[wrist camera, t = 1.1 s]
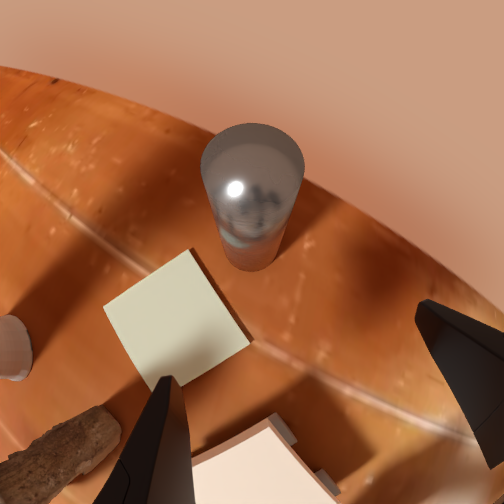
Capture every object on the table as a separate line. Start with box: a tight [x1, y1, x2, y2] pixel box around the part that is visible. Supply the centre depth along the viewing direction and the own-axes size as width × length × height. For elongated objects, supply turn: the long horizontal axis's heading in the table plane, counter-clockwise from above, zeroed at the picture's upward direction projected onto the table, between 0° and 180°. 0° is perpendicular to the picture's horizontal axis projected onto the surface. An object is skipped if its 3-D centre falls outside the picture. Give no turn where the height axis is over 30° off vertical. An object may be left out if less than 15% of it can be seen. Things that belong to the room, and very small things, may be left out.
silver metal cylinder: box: [200, 123, 305, 272], centre depth 18 cm, size 4×4×12 cm
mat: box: [103, 250, 250, 392], centre depth 22 cm, size 9×9×1 cm
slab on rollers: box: [191, 412, 342, 504], centre depth 16 cm, size 11×10×5 cm
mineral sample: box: [0, 405, 122, 504], centre depth 11 cm, size 17×4×15 cm, turn 137°
